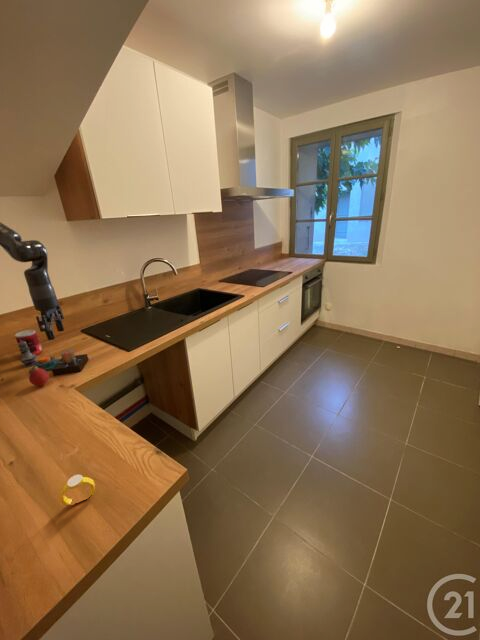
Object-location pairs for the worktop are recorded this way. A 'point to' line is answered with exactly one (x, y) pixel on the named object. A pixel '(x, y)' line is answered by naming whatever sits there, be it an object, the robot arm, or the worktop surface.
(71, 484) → the watch
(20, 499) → the worktop surface
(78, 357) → the black square tray
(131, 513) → the worktop surface
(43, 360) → the ignition button
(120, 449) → the worktop surface
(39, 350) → the canned food
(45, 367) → the ignition block
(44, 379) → the red round piece
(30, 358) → the grey chess piece
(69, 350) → the hob knob
